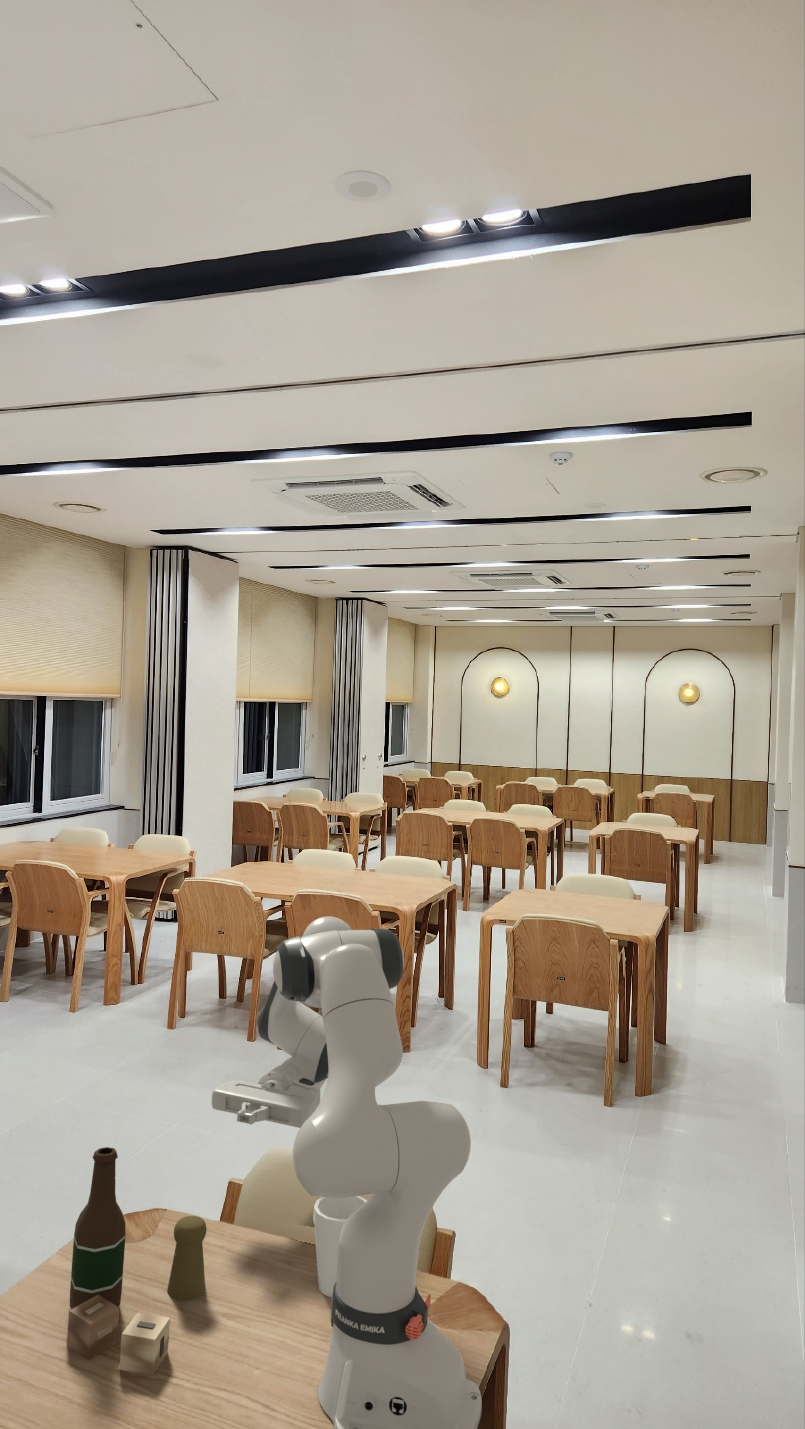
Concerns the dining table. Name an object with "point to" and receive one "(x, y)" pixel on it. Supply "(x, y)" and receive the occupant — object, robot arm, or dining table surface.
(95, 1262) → the beer bottle
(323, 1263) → the foam cup
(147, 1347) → the beech cube marked
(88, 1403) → the dining table surface
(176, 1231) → the cork
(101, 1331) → the walnut cube marked
